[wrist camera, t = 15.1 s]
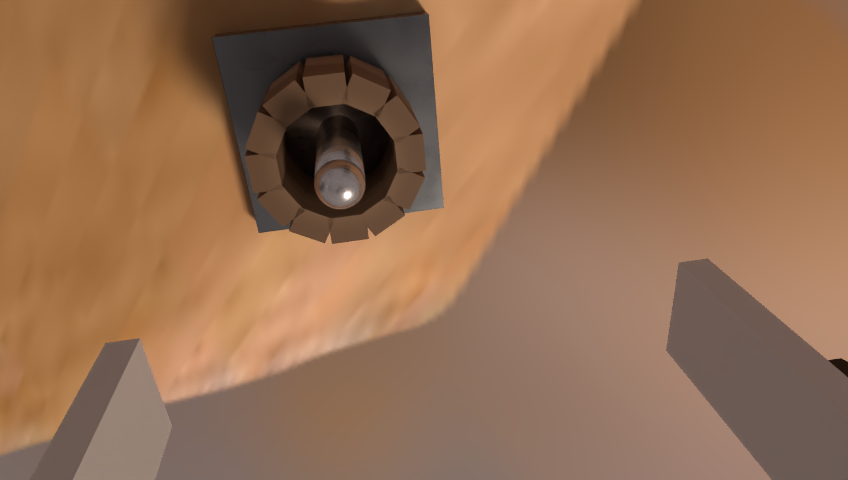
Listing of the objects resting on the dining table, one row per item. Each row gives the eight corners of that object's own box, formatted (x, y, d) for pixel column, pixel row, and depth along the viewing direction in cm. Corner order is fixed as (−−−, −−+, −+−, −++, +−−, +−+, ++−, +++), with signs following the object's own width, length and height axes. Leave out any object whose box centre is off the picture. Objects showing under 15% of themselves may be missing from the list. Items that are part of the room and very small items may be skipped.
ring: (275, 214, 37) (267, 252, 32) (242, 65, 32) (227, 85, 28) (419, 195, 37) (431, 230, 33) (405, 47, 33) (416, 63, 29)
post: (260, 224, 39) (236, 322, 29) (215, 34, 34) (166, 74, 24) (440, 200, 40) (476, 286, 30) (425, 11, 35) (463, 41, 25)
